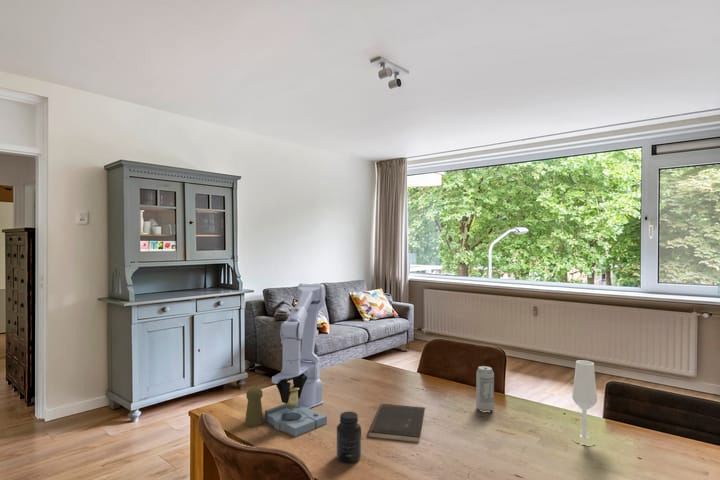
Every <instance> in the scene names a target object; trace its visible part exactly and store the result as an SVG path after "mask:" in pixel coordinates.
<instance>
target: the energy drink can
mask: <svg viewBox="0 0 720 480" xmlns="http://www.w3.org/2000/svg"><path fill="white" fill-rule="evenodd" d="M475 372H476V373H475V374H476V378H475V379H476V380H475V381H476V382H475V383H476V385H475V386H476V387H475V389H476V391H475V393H476V394H475V400H476V401H475V407H476V409H477V410H478V409H479V410H482V411H491V410H492V411H493V410H494V408H495V407H494V405H495V404H494V403H495V397H494V396H495V394H494V393H495V387H494V386H495V373H494V371H493V368H492V367H491V366H486V365H481V366H479V365H478V368H477V370H476V371H475ZM479 410H478V411H479Z"/></svg>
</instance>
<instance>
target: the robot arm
mask: <svg viewBox="0 0 720 480" xmlns="http://www.w3.org/2000/svg"><path fill="white" fill-rule="evenodd" d="M296 296H297V299H298V300H297V303H296V306H294V307H293V308H292V309H291V310H290V313H289V314H288V316H287V319H286V320H285V321H284V322H282V323H281V324H280V330H279V336H280V340H281V341H280V342H281V345H282V369H281V372H279V373H277V374H275V375H273V376H272V377H271V383H272V384H275V386H276V388H277V390H278V393H279V395H280V399H281V403H282V404H285V403H288V393H289V388H290V386H298V387H299V390H298V404H300V405H302V406H304V407H307V408H309V409H311V408H313V407H317V406H320V405H323V404H324V401H323V383H322V380H321V379H320V376H321V359H320V357H319V356H318V355H317V354H316V353H315V347H316V346H315V345H316V338H317V337H316V335H317V330H318V329H317V327H318V319H319V314H320V313H319V312H320V309H322V308H324V306H325V301H326V300H325V299H326V286H325V285H324V283H320V284H319V283H301V282H300V283H299V284H298V285H297V289H296ZM301 341H302V342H301ZM290 379H291V380H292V383H293V384H292V385H291V382H288V380H290Z"/></svg>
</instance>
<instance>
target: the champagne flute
mask: <svg viewBox="0 0 720 480" xmlns="http://www.w3.org/2000/svg"><path fill="white" fill-rule="evenodd" d="M595 374H596V372H595V363H594V362H592V361H590V360H584V359H583V360H581V359H579V360H578V359H577V360H576V361H575V370H574V377H573V378H574V379H573V385H572V386H573V387H572V396H571V397H572V400H573V402H574V403H575V404H576V406H578V407H579V408H580V409H581V434H579V435H580V437H582V438H588V437H589V436H588V435H587V413H588V412H587V410H590V409H591V408H593V407H594V406H595V405H596V404H597V403H598V395H597V393H598V392H597V383H596V375H595Z"/></svg>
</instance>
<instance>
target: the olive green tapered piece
mask: <svg viewBox="0 0 720 480" xmlns="http://www.w3.org/2000/svg"><path fill="white" fill-rule="evenodd" d="M245 395H246V400H247V403H246V404H247V405H246V412H245V421H244V425H245V426H247V427H250V428H251V427H253V428H254V427H259V426H261V425H263V424H264V423H265V422H264V421H265V420H264V413H263V407H262V398H263V390H262V389H261V388H259V387H253V388H250V389H248V390H247V391H246V394H245Z"/></svg>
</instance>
